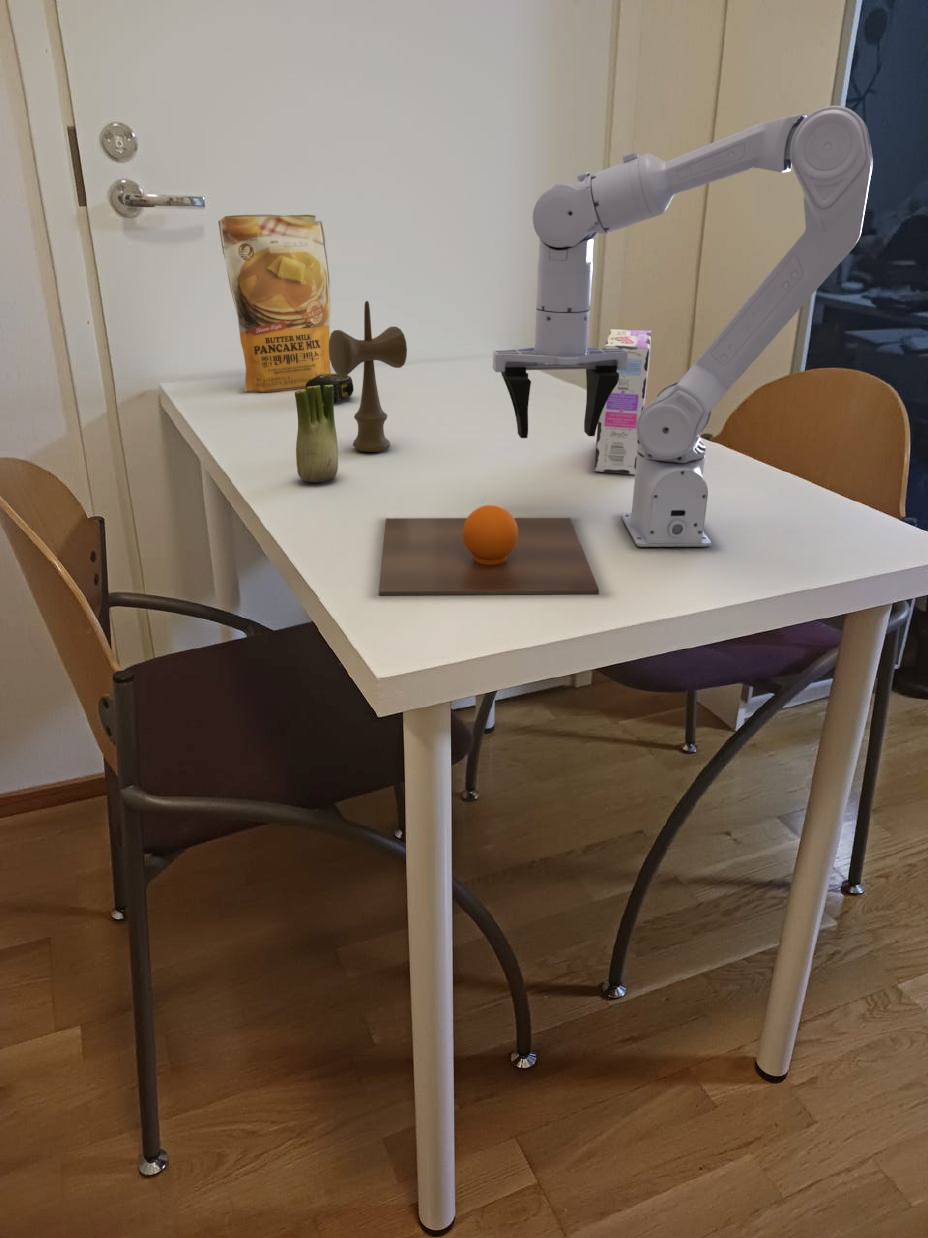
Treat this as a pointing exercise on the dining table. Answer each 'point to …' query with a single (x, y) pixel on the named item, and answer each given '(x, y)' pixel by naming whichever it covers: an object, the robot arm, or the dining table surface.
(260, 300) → the pancake mix bag
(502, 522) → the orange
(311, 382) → the tape measure
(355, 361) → the kendama
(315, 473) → the fennel bulb
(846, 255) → the robot arm
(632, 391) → the candy box
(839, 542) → the dining table surface
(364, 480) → the dining table surface
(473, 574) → the front mat
